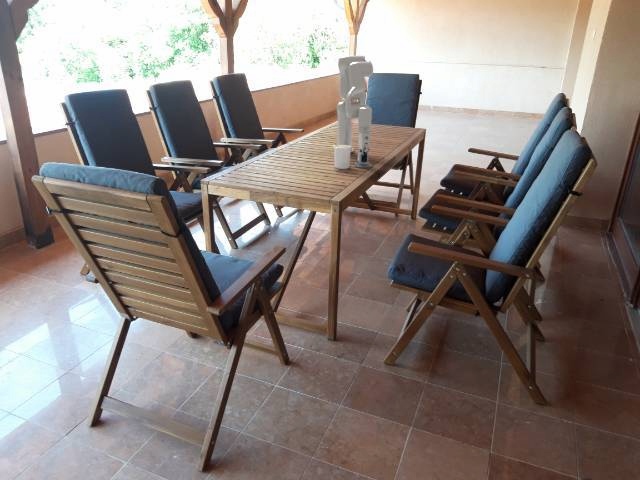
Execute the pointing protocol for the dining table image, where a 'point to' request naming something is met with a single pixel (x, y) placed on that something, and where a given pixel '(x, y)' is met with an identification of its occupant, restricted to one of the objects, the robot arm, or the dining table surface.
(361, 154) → the letter block
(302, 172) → the dining table surface
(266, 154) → the dining table surface
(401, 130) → the dining table surface
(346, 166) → the candle holder
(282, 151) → the dining table surface
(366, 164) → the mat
